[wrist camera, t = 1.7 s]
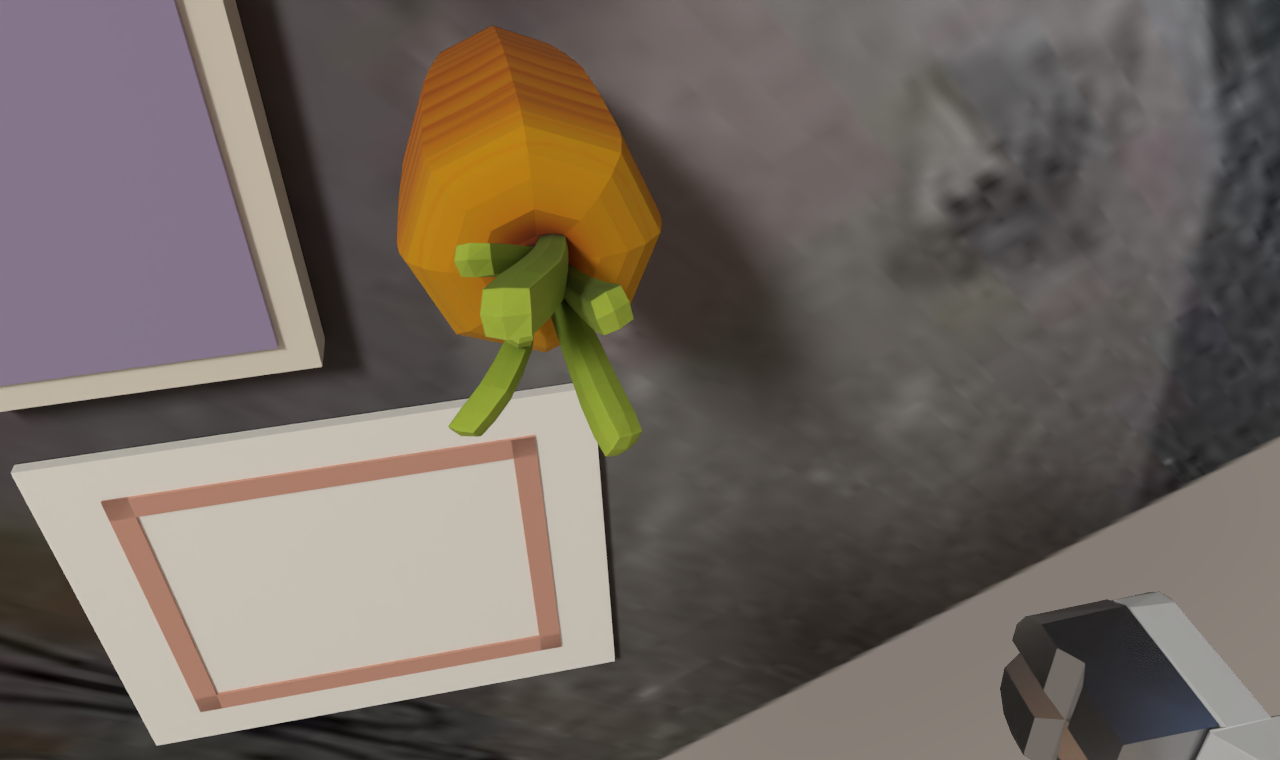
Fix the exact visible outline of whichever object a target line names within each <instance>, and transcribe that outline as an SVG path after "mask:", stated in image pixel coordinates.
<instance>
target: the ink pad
mask: <svg viewBox="0 0 1280 760" xmlns="http://www.w3.org/2000/svg"><path fill="white" fill-rule="evenodd" d="M324 345H325V337H324V333H323V329H322V326H321V322H320V318H319V314H318V311H317V307H316V303H315V299H314V295H313V292H312V288H311V284H310V280H309V277H308V273H307V269H306V265H305V261H304V258H303V254H302V250H301V246H300V243H299V239H298V235H297V231H296V228H295V224H294V220H293V216H292V212H291V209H290V205H289V201H288V197H287V194H286V190H285V186H284V182H283V178H282V175H281V171H280V167H279V163H278V160H277V156H276V152H275V148H274V144H273V141H272V137H271V133H270V129H269V126H268V122H267V118H266V114H265V111H264V107H263V103H262V99H261V95H260V92H259V88H258V84H257V80H256V77H255V73H254V69H253V65H252V61H251V58H250V54H249V50H248V46H247V43H246V39H245V35H244V31H243V27H242V24H241V20H240V16H239V12H238V9H237V5H236V1H235V0H0V412H3V411H10V410H17V409H24V408H31V407H39V406H46V405H53V404H60V403H67V402H74V401H82V400H89V399H96V398H103V397H110V396H117V395H125V394H132V393H139V392H146V391H153V390H160V389H168V388H175V387H182V386H189V385H196V384H203V383H211V382H218V381H225V380H232V379H239V378H246V377H254V376H261V375H268V374H275V373H282V372H289V371H297V370H304V369H311V368H318V367H322V366H323V355H324Z"/></svg>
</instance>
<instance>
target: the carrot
mask: <svg viewBox="0 0 1280 760" xmlns="http://www.w3.org/2000/svg"><path fill="white" fill-rule="evenodd" d="M661 226H662V220H661V216H660V212H659V210H658V208H657V206H656V204H655V202H654V200H653V198H652V196H651V194H650V192H649V190H648V188H647V185H646V183H645V181H644V179H643V177H642V175H641V173H640V171H639V169H638V167H637V165H636V163H635V161H634V159H633V157H632V155H631V153H630V151H629V149H628V146H627V144H626V142H625V140H624V138H623V136H622V134H621V132H620V130H619V128H618V126H617V124H616V123H615V121H614V119H613V117H612V115H611V113H610V112H609V110H608V108H607V106H606V104H605V102H604V101H603V99H602V97H601V95H600V94H599V92H598V90H597V89H596V87H595V86H594V84H593V83H592V81H591V80H590V78H589V77H588V75H587V74H586V72H585V71H584V69H583V67H581V66H580V65H579V64H578V63H576V62H575V61H574V60H573V59H571V58H570V57H569V56H568V55H566V54H565V53H563V52H562V51H560V50H558V49H557V48H555V47H553V46H552V45H550V44H548V43H545V42H542V41H539V40H536V39H533V38H530V37H527V36H523V35H520V34H517V33H514V32H511V31H508V30H505V29H502V28H498V27H495V26H490V27H488V28H486V29H484V30H482V31H480V32H479V33H477V34H475V35H473V36H471V37H469V38H467V39H465V40H463V41H462V42H460V43H458V44H456V45H454V46H452V47H450V48H448V49H446V50H444V51H443V52H441V53H440V54H439V55H438V57H437V58H436V60H435V61H434V62H433V64H432V65H431V68H430V70H429V72H428V74H427V76H426V78H425V81H424V84H423V87H422V91H421V95H420V99H419V103H418V106H417V110H416V114H415V118H414V121H413V125H412V129H411V133H410V137H409V140H408V144H407V148H406V152H405V155H404V159H403V167H402V176H401V184H400V193H399V207H398V229H397V245H398V250H399V253H400V254H401V256H402V257H403V259H404V260H405V261H406V263H407V264H408V266H409V267H410V269H411V270H412V271H413V273H414V274H415V276H416V277H417V279H418V280H419V281H420V283H421V284H422V286H423V287H424V289H425V290H426V291H427V293H428V294H429V296H430V297H431V299H432V300H433V301H434V303H435V304H436V306H437V307H438V309H439V310H440V311H441V313H442V314H443V316H444V317H445V319H446V320H447V321H448V323H449V324H450V326H451V327H452V329H453V330H454V331H455V333H456V334H459V335H464V336H469V337H473V338H478V339H483V340H488V341H493V342H498V343H503V345H502V347H501V349H500V351H499V352H498V354H497V356H496V358H495V360H494V362H493V363H492V365H491V367H490V368H489V370H488V372H487V373H486V375H485V377H484V378H483V380H482V382H481V383H480V385H479V386H478V387H477V389H476V390H475V391H474V393H473V394H472V395H471V396H470V398H469V399H468V400H467V401H466V403H465V404H464V405H463V407H462V408H461V409H460V411H459V412H458V413H457V415H456V416H455V418H454V419H453V420H452V422H451V423H450V424H449V426H448V427H449V428H450V429H451V430H452V431H454V432H455V433H457V434H459V435H460V436H475V437H478V436H482V435H483V434H484V433H485V432H486V431H487V429H488V428H489V427H490V426H491V425H492V424H493V423H494V422H495V421H496V419H497V418H498V417H499V415H500V414H501V412H502V411H503V410H504V408H505V407H506V405H507V404H508V403H509V401H510V400H511V398H512V396H513V394H514V392H515V389H516V387H517V385H518V383H519V381H520V379H521V377H522V375H523V372H524V369H525V367H526V364H527V361H528V359H529V356H530V353H531V351H532V350H537V351H542V352H547V351H549V350H551V349H553V348H555V347H557V346H559V345H560V346H561V349H562V352H563V355H564V358H565V361H566V364H567V367H568V370H569V373H570V376H571V379H572V382H573V385H574V388H575V391H576V394H577V397H578V400H579V403H580V406H581V408H582V410H583V413H584V415H585V417H586V420H587V422H588V424H589V427H590V429H591V431H592V434H593V436H594V438H595V440H596V441H597V443H598V445H599V446H600V448H601V450H602V451H603V453H604V455H605V456H617V455H619V454H621V453H622V452H624V451H626V450H628V449H629V448H630V447H631V446H632V445H633V444H635V443H636V442H637V440H638V438H639V436H640V434H641V432H642V429H641V427H640V424H639V421H638V419H637V416H636V414H635V411H634V409H633V408H632V406H631V404H630V402H629V400H628V398H627V396H626V394H625V392H624V390H623V388H622V386H621V384H620V382H619V380H618V378H617V376H616V374H615V372H614V370H613V368H612V366H611V364H610V362H609V360H608V357H607V355H606V353H605V351H604V349H603V347H602V345H601V343H600V341H599V339H598V337H597V335H596V333H595V331H596V332H598V333H600V334H602V335H606V334H609V333H611V332H614V331H616V330H619V329H621V328H622V327H624V326H625V325H626V324H627V323H629V322H630V321H631V320H633V319H634V318H633V314H632V310H631V306H630V304H631V302H632V300H633V297H634V295H635V292H636V290H637V288H638V285H639V283H640V280H641V278H642V276H643V273H644V271H645V268H646V266H647V264H648V261H649V259H650V256H651V254H652V252H653V249H654V247H655V245H656V242H657V240H658V237H659V235H660V233H661ZM594 330H595V331H594Z"/></svg>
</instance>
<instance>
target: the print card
mask: <svg viewBox="0 0 1280 760" xmlns="http://www.w3.org/2000/svg"><path fill="white" fill-rule="evenodd" d="M468 399H469V398H468ZM468 399H462V400H455V401H448V402H441V403H434V404H427V405H421V406H414V407H407V408H400V409H393V410H386V411H380V412H373V413H366V414H359V415H352V416H345V417H339V418H332V419H325V420H318V421H311V422H304V423H298V424H291V425H284V426H277V427H270V428H263V429H257V430H250V431H243V432H236V433H229V434H222V435H216V436H209V437H202V438H195V439H188V440H181V441H175V442H168V443H161V444H154V445H147V446H140V447H134V448H127V449H120V450H113V451H106V452H99V453H93V454H86V455H79V456H72V457H65V458H58V459H52V460H45V461H38V462H31V463H24V464H18V465H14V467H13V469H12V472H11V475H12V477H13V479H14V480H15V482H16V484H17V486H18V488H19V490H20V492H21V494H22V495H23V497H24V499H25V501H26V503H27V505H28V507H29V509H30V510H31V512H32V514H33V516H34V518H35V520H36V522H37V523H38V525H39V527H40V529H41V531H42V533H43V535H44V537H45V538H46V540H47V542H48V544H49V546H50V548H51V550H52V551H53V553H54V555H55V557H56V559H57V561H58V563H59V565H60V566H61V568H62V570H63V572H64V574H65V576H66V578H67V579H68V581H69V583H70V585H71V587H72V589H73V591H74V593H75V594H76V596H77V598H78V600H79V602H80V604H81V606H82V607H83V609H84V611H85V613H86V615H87V617H88V619H89V621H90V622H91V624H92V626H93V628H94V630H95V632H96V634H97V636H98V637H99V639H100V641H101V643H102V645H103V647H104V649H105V650H106V652H107V654H108V656H109V658H110V660H111V662H112V664H113V665H114V667H115V669H116V671H117V673H118V675H119V677H120V678H121V680H122V682H123V684H124V686H125V688H126V690H127V692H128V693H129V695H130V697H131V699H132V701H133V703H134V705H135V706H136V708H137V710H138V712H139V714H140V716H141V718H142V720H143V721H144V723H145V725H146V727H147V729H148V731H149V733H150V734H151V736H152V738H153V740H154V742H155V744H156V746H158V745H163V744H169V743H174V742H180V741H185V740H191V739H196V738H201V737H207V736H212V735H218V734H223V733H228V732H234V731H239V730H245V729H250V728H255V727H261V726H266V725H272V724H277V723H282V722H288V721H293V720H299V719H304V718H310V717H315V716H320V715H326V714H331V713H337V712H342V711H347V710H353V709H358V708H364V707H369V706H374V705H380V704H385V703H391V702H396V701H402V700H407V699H412V698H418V697H423V696H429V695H434V694H439V693H445V692H450V691H456V690H461V689H466V688H472V687H477V686H483V685H488V684H494V683H499V682H504V681H510V680H515V679H521V678H526V677H531V676H537V675H542V674H548V673H553V672H558V671H564V670H569V669H575V668H580V667H586V666H591V665H596V664H602V663H607V662H613V661H615V654H614V641H613V629H612V616H611V604H610V591H609V579H608V566H607V554H606V541H605V529H604V516H603V504H602V491H601V479H600V466H599V454H598V443H597V441H596V440H595V438H594V436H593V434H592V431H591V429H590V427H589V424H588V422H587V420H586V417H585V415H584V413H583V410H582V408H581V406H580V403H579V400H578V397H577V394H576V391H575V388H574V385H573V383H571V384H564V385H557V386H550V387H544V388H537V389H530V390H523V391H516V392H514V394H513V396H512V398H511V400H510V401H509V403H508V404H507V405H506V407H505V408H504V410H503V411H502V412H501V414H500V415H499V417H498V418H497V419H496V421H495V422H494V423H493V424H492V425H491V426H490V427H489V428H488V429H487V431H486V432H485V433H484V434H483V435H482V436H478V437H475V436H460V435H459V434H457V433H455V432H454V431H452V430H451V429H450V428H449V427H448V426H449V424H450V423H451V422H452V420H453V419H454V418H455V416H456V415H457V413H458V412H459V411H460V409H461V408H462V407H463V405H464V404H465V403H466V401H467V400H468Z"/></svg>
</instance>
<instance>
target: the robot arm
mask: <svg viewBox="0 0 1280 760" xmlns="http://www.w3.org/2000/svg"><path fill="white" fill-rule="evenodd" d="M1013 642H1014V644H1015V645H1016V647H1017V648H1018V650H1019V652H1020V653H1019V654H1018V655H1017V656H1016V657H1015V658H1014V659H1013V660H1012V661H1011V662H1010V663H1009V664H1008V665H1007V666H1006V667H1005V669H1004V674H1003V678H1002V683H1001V688H1000V690H1001V697H1002V704H1003V711H1004V715H1005V718H1006V720H1007V723H1008V726H1009V728H1010V731H1011V733H1012V735H1013V737H1014V739H1015V741H1016V743H1017V744H1018V746H1019V748H1020V750H1021V751H1022V753H1023V755H1024V756H1026V757H1028V758H1029V759H1030V760H1280V715H1278V716H1272V717H1271V716H1270V715H1269V714H1268V713H1267V712H1266V710H1265V709H1264V708H1263V707H1262V706H1261V704H1260V703H1259V702H1258V701H1257V700H1256V698H1255V697H1254V696H1253V695H1252V694H1251V693H1250V691H1249V690H1248V689H1247V688H1246V687H1245V685H1244V684H1243V683H1242V682H1241V681H1240V680H1239V678H1238V677H1237V676H1236V675H1235V673H1234V672H1233V671H1232V670H1231V669H1230V668H1229V666H1228V665H1227V664H1226V663H1225V662H1224V660H1223V659H1222V658H1221V657H1220V656H1219V654H1218V653H1217V652H1216V651H1215V650H1214V649H1213V647H1212V646H1211V645H1210V644H1209V642H1208V641H1207V640H1206V639H1205V638H1204V637H1203V635H1202V634H1201V633H1200V632H1199V631H1198V629H1197V628H1196V627H1195V626H1194V625H1193V624H1192V622H1191V621H1190V620H1189V619H1188V618H1187V616H1186V615H1185V614H1184V613H1183V612H1182V611H1181V609H1180V608H1179V607H1178V606H1177V605H1176V603H1175V602H1174V601H1173V600H1172V599H1171V598H1169V597H1168V596H1166V595H1164V594H1163V593H1161V592H1149V593H1144V594H1140V595H1135V596H1130V597H1126V598H1121V599H1117V600H1112V601H1110V600H1103V601H1098V602H1093V603H1089V604H1084V605H1079V606H1074V607H1070V608H1065V609H1060V610H1055V611H1050V612H1046V613H1041V614H1036V615H1031V616H1026V617H1025V618H1024V619H1022V620H1021V621H1020V622H1019V623H1018V624H1017V626H1016V630H1015V633H1014V636H1013Z"/></svg>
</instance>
